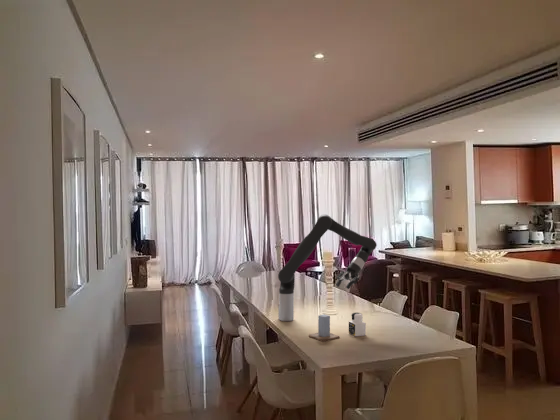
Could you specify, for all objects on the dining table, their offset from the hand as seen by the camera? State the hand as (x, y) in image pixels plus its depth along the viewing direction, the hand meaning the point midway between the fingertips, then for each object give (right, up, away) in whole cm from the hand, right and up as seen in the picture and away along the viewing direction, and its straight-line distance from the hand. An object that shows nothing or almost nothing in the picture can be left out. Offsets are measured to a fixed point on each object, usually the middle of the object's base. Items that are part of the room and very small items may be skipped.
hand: (342, 286), depth 267 cm
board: (-12, -25, -16) cm, 32 cm away
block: (-12, -24, -16) cm, 32 cm away
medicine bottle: (+7, -25, -10) cm, 28 cm away
